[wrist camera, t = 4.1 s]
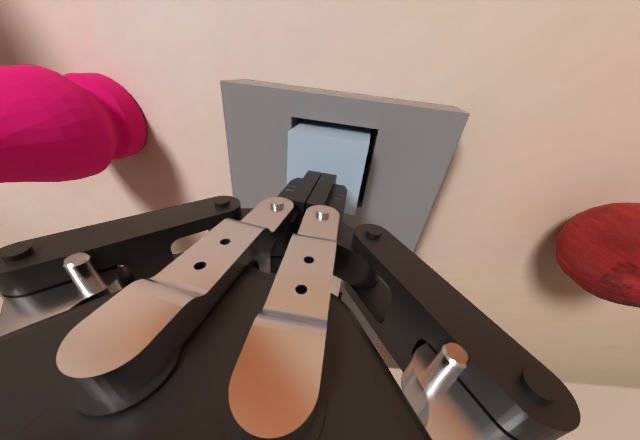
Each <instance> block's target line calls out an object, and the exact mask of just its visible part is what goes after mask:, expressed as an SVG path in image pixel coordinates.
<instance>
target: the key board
mask: <svg viewBox="0 0 640 440" xmlns="http://www.w3.org/2000/svg"><path fill="white" fill-rule="evenodd" d="M220 84H221V92H222V101H223V110H224V119H225V128H226V137H227V146H228V155H229V164H230V173H231V182H232V191H233V197H235V198H237V199H239V201H240V204H241V208H255V207H256V206H257V205H258V204H259V203H260V202H262V201H263V200H264V199H267V198H271V197H277V196H278V195H279V194H280V193H281V191H282V190H283V189H284V188H285V187H286V186H287V151H288V131H289V130H291V129H292V128H294V127H295V126H296V125H298V124H299V123H301V122H302V121H304V119H311V120H318V121H324V122H331V123H338V124H345V125H352V126H359V127H366V128H373V129H377V130H376V134H375V139H374V143H373V148H372V153H371V157H370V162H369V166H368V171H367V176H366V180H365V185H364V189H360V191H359V196H358V201H357V206H356V211H355V215H350V214H343V218H342V221H343V222H344V223H345V224H346V225H348V226H350V227H352V228H356V227H357V226H358V225H361V224H375V225H379V226H381V227H383V228H385V229H386V230H388V231H389V232H390V233H391V234H392V235H393V236H395V237H396V238H397V239H398V240H399V241H400V242H401V243H403V244H404V245H405V246H406V247H407V248H408V249H410V250H411V251H412V252H414V250H415V247H416V245H417V242H418V240H419V237H420V235H421V232H422V230H423V228H424V225H425V223H426V220H427V218H428V215H429V213H430V210H431V208H432V205H433V203H434V201H435V198H436V196H437V193H438V191H439V188H440V186H441V183H442V181H443V178H444V176H445V174H446V171H447V169H448V166H449V164H450V161H451V159H452V156H453V154H454V152H455V149H456V147H457V144H458V142H459V139H460V137H461V134H462V132H463V129H464V127H465V125H466V122H467V120H468V117H469V115H470V114H469V113H467V112H465V111H463V110H461V109H459V108H457V107H454V106H447V105H439V104H431V103H424V102H416V101H408V100H400V99H393V98H385V97H377V96H370V95H362V94H354V93H347V92H339V91H331V90H324V89H316V88H308V87H300V86H293V85H285V84H277V83H270V82H262V81H254V80H247V79H239V80H224V81H220ZM380 279H381V278H380ZM381 280H382V279H381ZM343 282H344V280H341V284H340V289H339V292H341V295H340V299H341V300H342V301H343V302H344V303H345V304H346V305H347V306H348V307H349V308H350V309H351V310H352V312H353V313H354V315H355V316H356V318H357V319H358V321H359V322H360V324H361V326H362V327H363V329H364V330H365V332H366V334H367V335H368V337H369V338H370V340H371V342H372V343H373V345H376V343H377V340H378V338H379V337H378V336H377V334H376V333H375V331H374V330H373V328H372V327H371V326H370V324H369V323H368V321H367V320H366V318H365V317H364V316H363V314H362V313H361V311H360V310H359V308H358V307H357V306H356V304H355V303H354V301H353V300H352V298H351V297H350V296H349V294H348V293H347V291H346V290H345V288H344V285H343ZM382 282H383V283H384V284H385V285H386V286H387V284H386V283H385V282H384V281H383V280H382ZM387 287H388V286H387ZM388 288H389V287H388Z"/></svg>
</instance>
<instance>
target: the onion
mask: <svg viewBox="0 0 640 440" xmlns="http://www.w3.org/2000/svg"><path fill="white" fill-rule="evenodd" d="M556 255H557V262H558V264H559V265H560V267H561V268H562V270H563V271H564V272H565V273H566V274H567V275H568V276H569V277H570V278H571V279H572V280H573V281H575V282H576V283H577V284H578V285H579V286H581V287H582V288H583V289H584V290H586V291H587V292H589V293H591V294H593V295H595V296H597V297H599V298H602V299H604V300H607V301H610V302H614V303H618V304H622V305H627V306H633V307H639V308H640V203H611V204H607V205H603V206H598V207H594V208H590V209H588V210H586V211H583V212H581V213H579V214H576V215H575V216H574V217H572V218H571V219H570V220H569V221H568V222H566V223H565V225H564V226H563V228H562V229H561V231H560V233H559V235H558V237H557V238H556Z"/></svg>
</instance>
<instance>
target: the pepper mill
mask: <svg viewBox="0 0 640 440" xmlns="http://www.w3.org/2000/svg"><path fill="white" fill-rule="evenodd" d="M146 138H147V130H146V123H145V120H144V117H143V114H142V112H141V111H140V109H139V107H138V105H137V103H136V102H135V101H134V99H133V98H132V97H131V95H130V94H129V93H128V92H127V91H126V90H125V89H124V88H123V87H122V86H121V85H119V84H118V83H116V82H115V81H114V80H112V79H110V78H109V77H106V76H104V75H101V74H97V73H69V74H65V75H64V76H62V75H61V74H59V73H57V72H54V71H52V70H50V69H47V68H43V67H40V66H35V65H29V64H21V65H7V66H0V183H4V182H61V181H69V180H77V179H82V178H85V177H89V176H92V175H95V174H98V173H100V172H102V171H103V170H105V169H106V168H107V167H108V165H109V164H110V163H111V161H112V159H120V158H123V157H126V156H129V155H132V154H134V153H137V152H139V151H140V150H141V149H142V148H143V147H144V145H145V142H146Z"/></svg>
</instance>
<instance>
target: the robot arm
mask: <svg viewBox="0 0 640 440" xmlns="http://www.w3.org/2000/svg"><path fill="white" fill-rule="evenodd" d="M336 179H337V175H334V174H328V173H322V172H316V171H310V170H308V171H307V173H306V174H305V176H304V177H303V178H298V177H297V178H295V179H293V180H290V182H289V183H288V184H287V186H286V187H285V188H284V189H283V190H282V191H281V193H280V194H279V195H278V196H277V197H271V198H267V199H264V200H263V201H262V202H260V203H259V204H258V205H257V206H256V207H255V208H241V204H240V201H239V199H237V198H235V197H232V196H217V197H213V198H208V199H204V200H200V201H195V202H191V203H187V204H182V205H178V206H173V207H169V208H165V209H160V210H156V211H152V212H147V213H143V214H139V215H134V216H130V217H126V218H121V219H117V220H112V221H108V222H104V223H99V224H95V225H91V226H86V227H82V228H78V229H73V230H69V231H65V232H60V233H56V234H51V235H47V236H43V237H38V238H34V239H30V240H25V241H21V242H17V243H14V244H11V245H8V246H5V247H3V248H0V296H1V297H2V298H3V300H4V301H3V305H2V309H1V313H0V440H556V439H558V438H560V437H561V436H563V435H565V434H567V433H569V432H571V431H573V430H574V429H576V428H577V427H578V426H579V423H580V411H579V408H578V405H577V403H576V401H575V399H574V397H573V396H572V394H571V393H570V391H569V390H568V389H567V387H566V386H565V385H564V384H563V383H562V382H561V381H560V379H559V378H558V377H556V376H555V375H554V374H553V373H552V372H551V371H550V370H549V369H548V368H546V367H545V366H544V365H543V364H542V363H541V362H539V361H538V360H537V359H536V358H535V357H534V356H532V355H531V354H530V353H529V352H528V351H527V350H525V349H524V348H523V347H522V346H521V345H520V344H519V343H517V342H516V341H515V340H514V339H513V338H512V337H510V336H509V335H508V334H507V333H506V332H505V331H503V330H502V329H501V328H500V327H499V326H498V325H497V324H495V323H494V322H493V321H492V320H491V319H490V318H488V317H487V316H486V315H485V314H484V313H483V312H481V311H480V310H479V309H478V308H477V307H476V306H474V305H473V304H472V303H471V302H470V301H469V300H468V299H466V298H465V297H464V296H463V295H462V294H461V293H459V292H458V291H457V290H456V289H455V288H454V287H452V286H451V285H450V284H449V283H448V282H447V281H446V280H444V279H443V278H442V277H441V276H440V275H439V274H437V273H436V272H435V271H434V270H433V269H432V268H430V267H429V266H428V265H427V264H426V263H425V262H424V261H422V260H421V259H420V258H419V257H418V256H417V255H415V254H414V253H413V252H412V251H411V250H410V249H408V248H407V247H406V246H405V245H404V244H403V243H401V242H400V241H399V240H398V239H397V238H396V237H395V236H393V235H392V234H391V233H390V232H389V231H388V230H386V229H385V228H383V227H381V226H379V225H375V224H361V225H358V226H357V227H356V228H355V229H354V228H352V227H350V226H348V225H346V224H345V223H344V222H343V221H342V218H343V214H344V208H345V202H346V196H347V191H348V190H347V189H346V187H345V186H344V185H338V184H336ZM205 230H208V231H209V232H208V233H207V234H206V235H204V236H203V237H202V238H201V239H200V240H198V241H197V242H196V243H195V244H194V245H192V246H191V247H190V248H189V249H187V250H186V251H185V252H183V253H180V254H172V252H171V245H172V243H173V242H174V241H175V240H177V239H179V238H182V237H185V236H188V235H192V234H195V233H198V232H202V231H205ZM121 265H124V266H122V267H121ZM333 275H334V276H336V277H338V278H340V279H342V280H344V282H343V285H344V288H345V290H346V291H347V293H348V294H349V296H350V297H351V298H352V300H353V301H354V303H355V304H356V306H357V307H358V308H359V310H360V311H361V313H362V314H363V316H364V317H365V318H366V320H367V321H368V323H369V324H370V326H371V327H372V328H373V330H374V331H375V333H376V334H377V336H378V337H379V338H380V340H381V341H382V343H383V344H384V346H385V347H386V349H387V350H388V351H389V353H390V354H391V356H392V357H393V359H394V360H395V361H396V363H397V364H398V366H399V367H400V369H401V370H402V371H403V374H402V378H401V387H402V390H401V388H400V387H399V385H398V384H397V382H396V380H395V379H394V377H393V375H392V374H391V372H390V371H389V369H388V367H387V366H386V364H385V363H384V361H383V359H382V358H381V356H380V355H379V353H378V351H377V350H376V348H375V347H374V345H373V343H372V342H371V340H370V338H369V337H368V335H367V334H366V332H365V330H364V329H363V327H362V326H361V324H360V322H359V321H358V319H357V318H356V316H355V315H354V313H353V312H352V310H351V309H350V308H349V307H348V306H347V305H346V304H345V303H344V302H343V301H342V300H341V299H340V298H338V297H337V296H336V295H334V294H333V293H331V285H332V277H333ZM380 278H381V279H382V280H383V281H384V282H385V283H386V284H387V286H388V287H389V288H388V287H387V286H386V285H385V284H384V283H383V282H382V280H381V279H380ZM402 391H403V392H402Z"/></svg>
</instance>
